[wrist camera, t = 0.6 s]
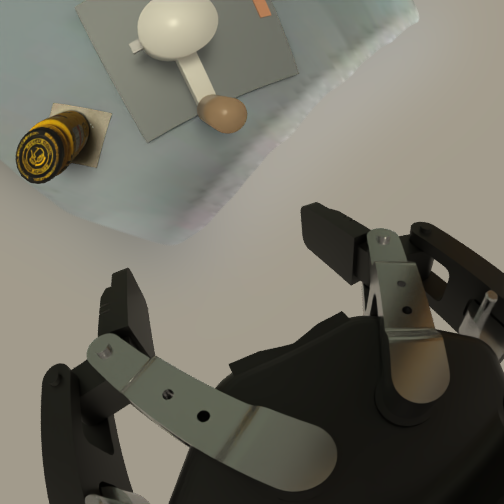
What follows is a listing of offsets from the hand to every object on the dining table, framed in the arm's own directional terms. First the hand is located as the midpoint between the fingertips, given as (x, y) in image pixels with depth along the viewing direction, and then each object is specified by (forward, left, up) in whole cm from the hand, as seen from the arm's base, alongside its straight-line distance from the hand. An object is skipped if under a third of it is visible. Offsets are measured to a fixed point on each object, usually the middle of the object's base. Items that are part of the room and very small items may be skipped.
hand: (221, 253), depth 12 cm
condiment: (-7, -10, -26) cm, 29 cm away
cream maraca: (-8, +6, -21) cm, 23 cm away
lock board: (-12, +9, -26) cm, 30 cm away
